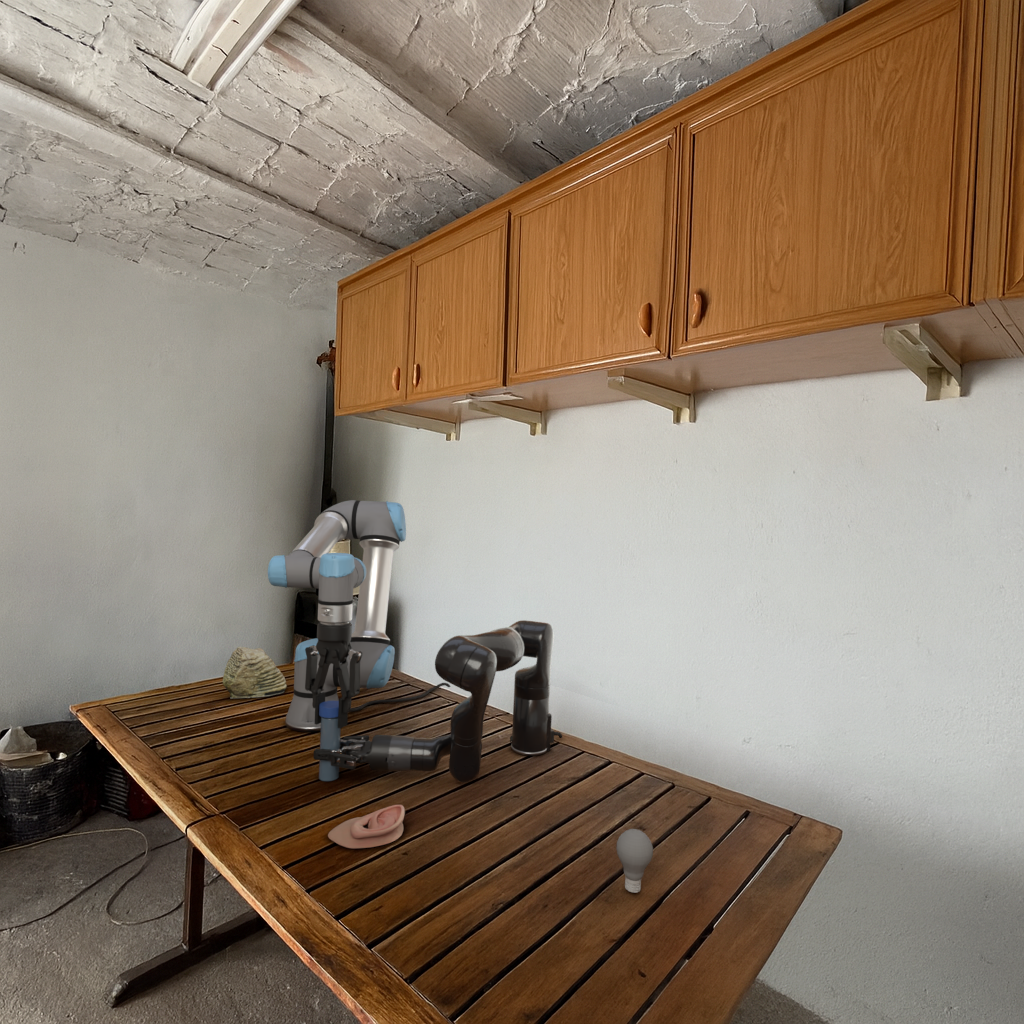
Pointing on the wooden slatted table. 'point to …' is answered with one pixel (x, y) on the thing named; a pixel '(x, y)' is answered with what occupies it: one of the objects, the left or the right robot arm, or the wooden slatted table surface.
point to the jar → (329, 747)
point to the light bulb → (634, 857)
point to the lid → (329, 709)
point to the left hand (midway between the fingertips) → (330, 724)
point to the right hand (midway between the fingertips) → (318, 749)
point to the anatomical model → (370, 828)
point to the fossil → (252, 674)
